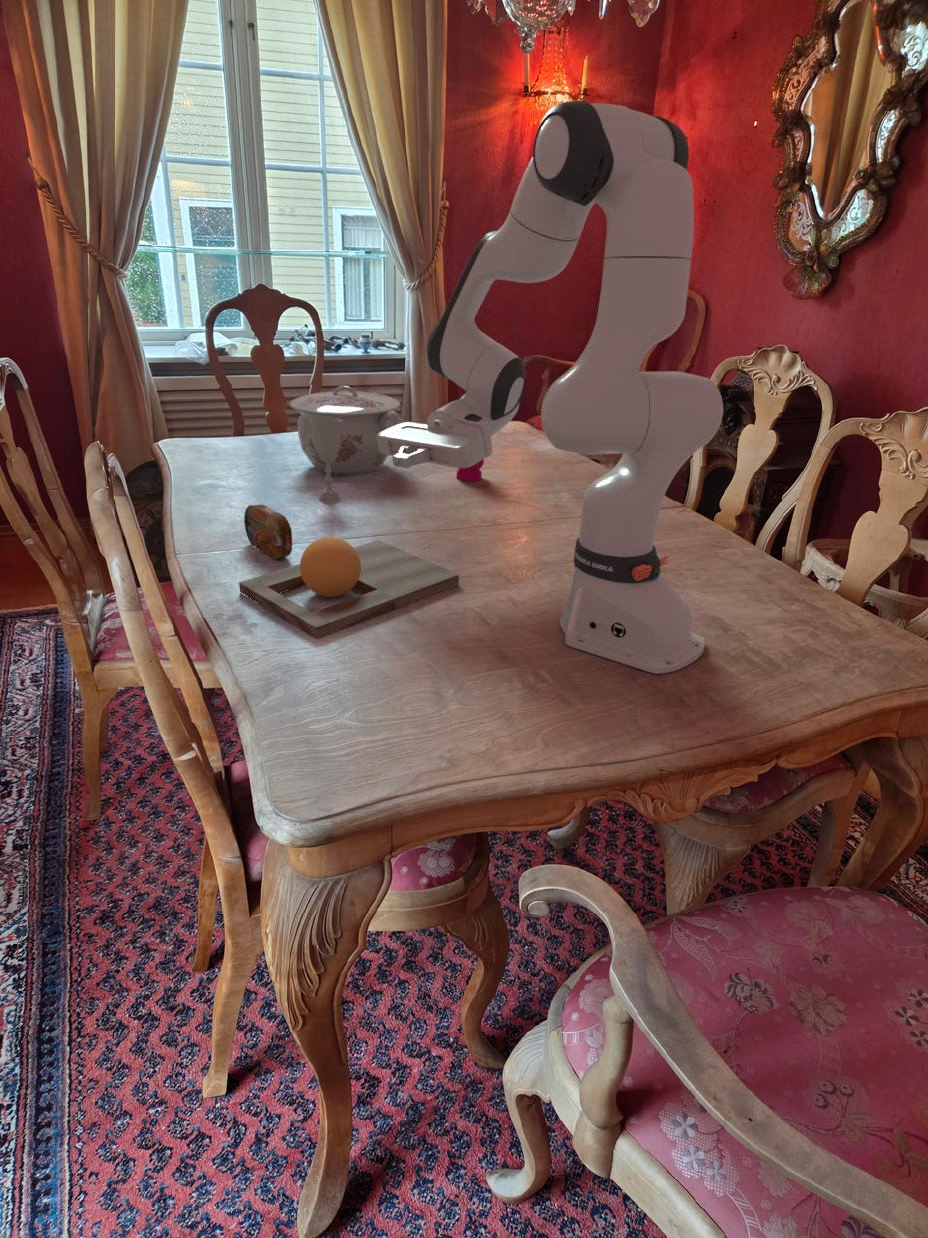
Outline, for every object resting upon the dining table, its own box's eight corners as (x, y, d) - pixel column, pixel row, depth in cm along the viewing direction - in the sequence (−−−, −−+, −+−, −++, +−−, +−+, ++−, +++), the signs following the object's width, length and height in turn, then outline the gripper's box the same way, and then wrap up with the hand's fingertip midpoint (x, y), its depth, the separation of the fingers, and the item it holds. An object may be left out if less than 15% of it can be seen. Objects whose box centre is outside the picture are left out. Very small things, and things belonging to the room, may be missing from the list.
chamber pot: (288, 457, 205) (282, 377, 196) (389, 452, 213) (387, 375, 204) (301, 487, 182) (294, 398, 172) (413, 480, 189) (413, 395, 180)
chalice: (307, 501, 173) (302, 420, 165) (326, 493, 178) (321, 415, 170) (333, 506, 170) (329, 425, 162) (351, 498, 175) (348, 419, 167)
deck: (458, 585, 134) (459, 574, 133) (316, 639, 115) (316, 627, 114) (378, 549, 148) (378, 540, 147) (240, 593, 128) (238, 582, 128)
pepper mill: (480, 483, 189) (483, 400, 180) (451, 480, 190) (453, 398, 181) (485, 475, 195) (488, 395, 186) (457, 472, 196) (459, 393, 187)
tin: (244, 541, 150) (240, 500, 146) (259, 538, 152) (255, 497, 148) (281, 565, 140) (277, 522, 136) (297, 562, 141) (293, 518, 138)
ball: (347, 544, 120) (299, 585, 120) (381, 579, 127) (335, 618, 127) (325, 515, 127) (280, 554, 127) (359, 550, 134) (315, 587, 134)
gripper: (404, 408, 138) (350, 437, 130) (495, 420, 126) (442, 453, 118) (411, 441, 141) (359, 471, 133) (499, 455, 130) (448, 490, 121)
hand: (399, 463), depth 125 cm, fingers closed
